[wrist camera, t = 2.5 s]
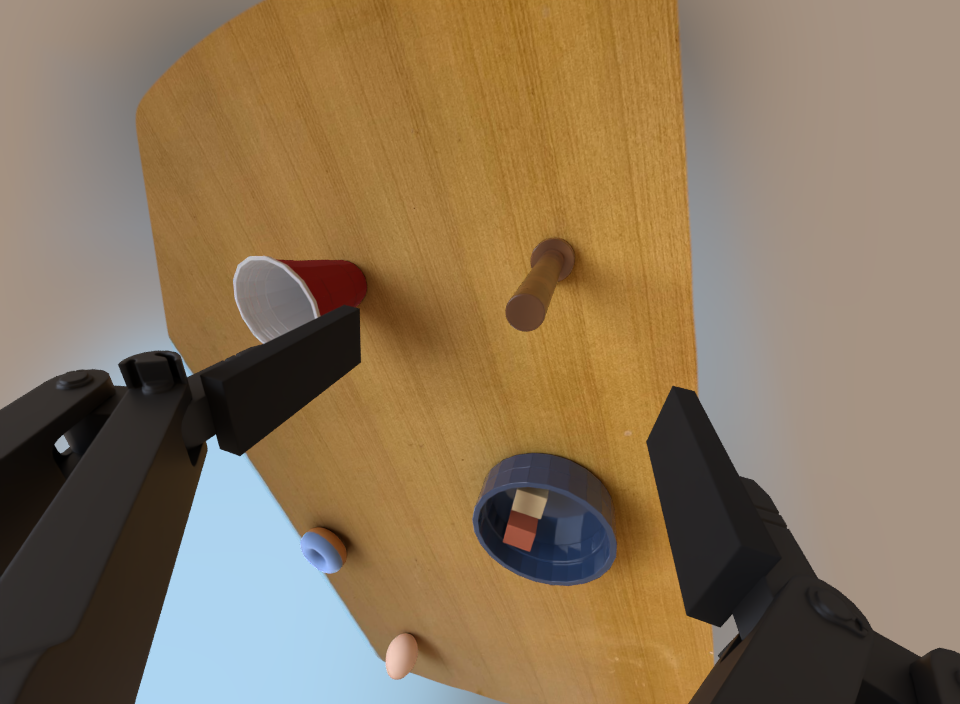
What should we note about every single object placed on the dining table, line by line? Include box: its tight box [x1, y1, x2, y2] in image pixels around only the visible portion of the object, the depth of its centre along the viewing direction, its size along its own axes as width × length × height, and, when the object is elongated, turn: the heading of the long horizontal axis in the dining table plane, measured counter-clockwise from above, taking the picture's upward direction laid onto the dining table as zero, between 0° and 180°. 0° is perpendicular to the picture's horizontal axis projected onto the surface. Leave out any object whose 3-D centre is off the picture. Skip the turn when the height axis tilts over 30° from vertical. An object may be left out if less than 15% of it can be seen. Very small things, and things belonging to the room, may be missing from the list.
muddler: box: [506, 238, 575, 332], centre depth 29 cm, size 4×4×18 cm
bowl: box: [472, 453, 617, 586], centre depth 48 cm, size 19×19×6 cm
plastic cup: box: [233, 256, 367, 344], centre depth 40 cm, size 11×11×12 cm
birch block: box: [512, 487, 549, 519], centre depth 47 cm, size 4×4×4 cm
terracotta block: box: [503, 504, 538, 552], centre depth 51 cm, size 4×4×4 cm
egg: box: [386, 633, 418, 680], centre depth 76 cm, size 7×7×8 cm
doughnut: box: [300, 527, 347, 573], centre depth 70 cm, size 10×10×5 cm
